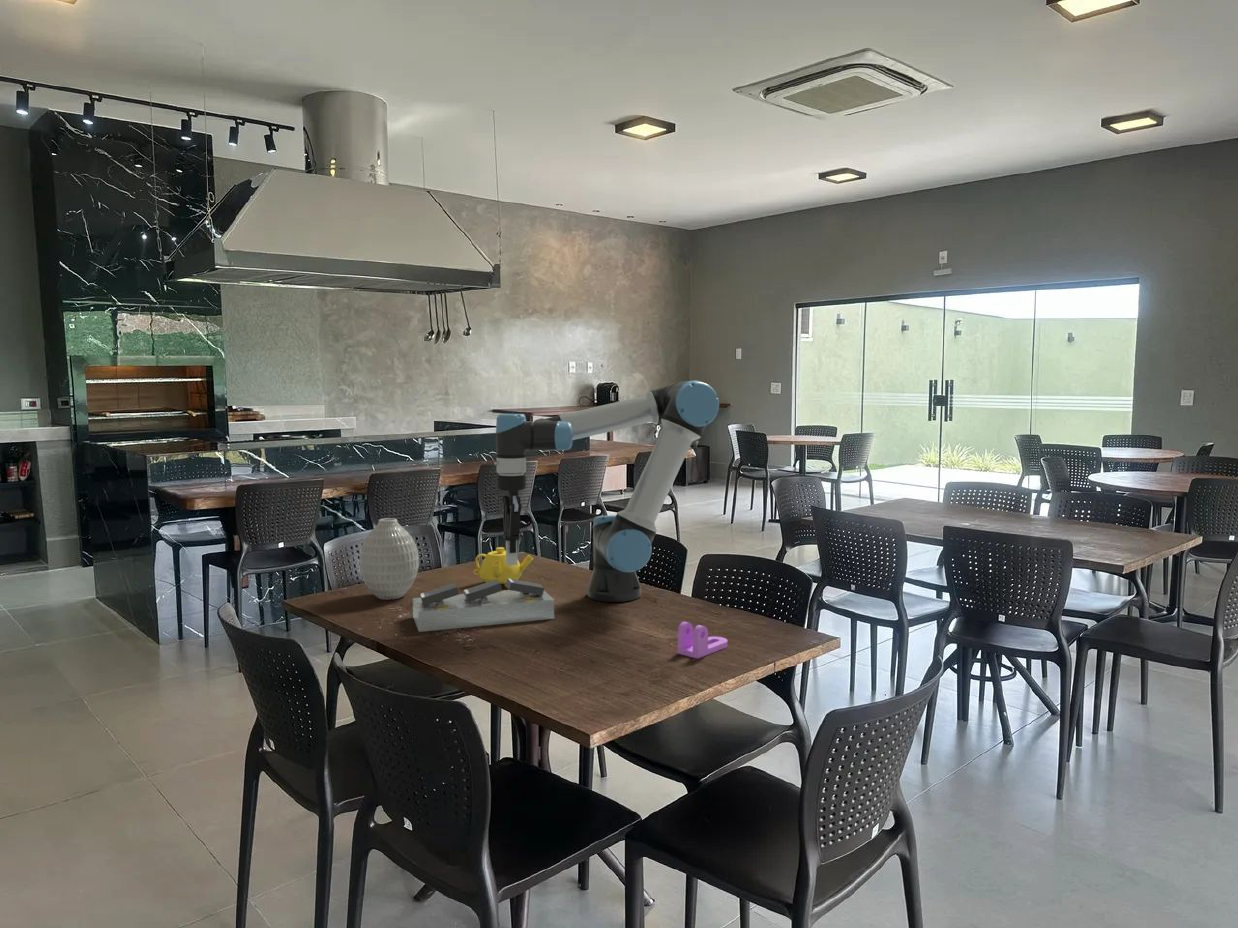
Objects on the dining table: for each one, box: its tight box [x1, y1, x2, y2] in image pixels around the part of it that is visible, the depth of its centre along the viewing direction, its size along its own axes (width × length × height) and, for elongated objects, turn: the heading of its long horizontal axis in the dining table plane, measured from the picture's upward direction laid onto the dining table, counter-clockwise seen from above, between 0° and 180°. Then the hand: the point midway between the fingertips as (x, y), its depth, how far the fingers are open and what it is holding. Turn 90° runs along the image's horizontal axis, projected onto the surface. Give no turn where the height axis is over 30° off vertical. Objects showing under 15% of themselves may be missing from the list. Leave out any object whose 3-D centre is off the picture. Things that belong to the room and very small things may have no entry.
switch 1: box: [419, 582, 460, 606], centre depth 216 cm, size 9×5×2 cm, turn 109°
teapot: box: [473, 546, 534, 588], centre depth 256 cm, size 14×14×11 cm
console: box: [412, 589, 555, 633], centre depth 220 cm, size 34×14×6 cm, turn 109°
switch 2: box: [463, 579, 503, 602], centre depth 220 cm, size 9×5×2 cm, turn 109°
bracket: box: [677, 621, 728, 659], centre depth 193 cm, size 13×6×7 cm, turn 137°
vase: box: [359, 517, 420, 601], centre depth 242 cm, size 16×16×22 cm
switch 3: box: [504, 578, 545, 596], centre depth 223 cm, size 9×5×2 cm, turn 109°
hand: (511, 564), depth 222 cm, fingers closed
